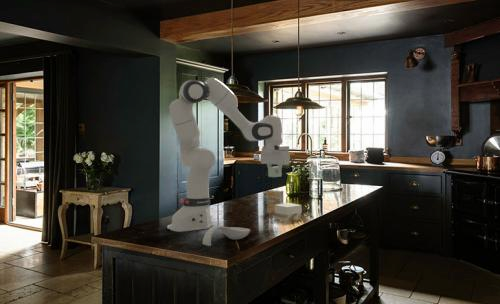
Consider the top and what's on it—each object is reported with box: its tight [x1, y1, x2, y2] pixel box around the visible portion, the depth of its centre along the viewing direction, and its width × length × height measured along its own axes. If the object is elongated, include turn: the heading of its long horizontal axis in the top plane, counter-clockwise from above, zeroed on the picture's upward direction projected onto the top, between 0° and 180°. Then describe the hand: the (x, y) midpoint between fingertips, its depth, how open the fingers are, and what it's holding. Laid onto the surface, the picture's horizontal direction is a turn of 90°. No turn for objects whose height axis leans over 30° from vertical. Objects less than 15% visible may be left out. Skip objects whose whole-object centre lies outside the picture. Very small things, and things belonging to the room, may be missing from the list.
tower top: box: [275, 202, 303, 215], centre depth 219 cm, size 10×10×4 cm
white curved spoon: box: [202, 225, 251, 247], centre depth 177 cm, size 24×12×7 cm, turn 138°
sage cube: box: [267, 165, 283, 178], centre depth 218 cm, size 5×5×5 cm
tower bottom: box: [273, 212, 302, 223], centre depth 220 cm, size 10×10×4 cm
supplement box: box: [267, 189, 284, 215], centre depth 236 cm, size 8×5×13 cm, turn 62°
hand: (274, 172), depth 218 cm, fingers closed on sage cube, 5 cm apart
